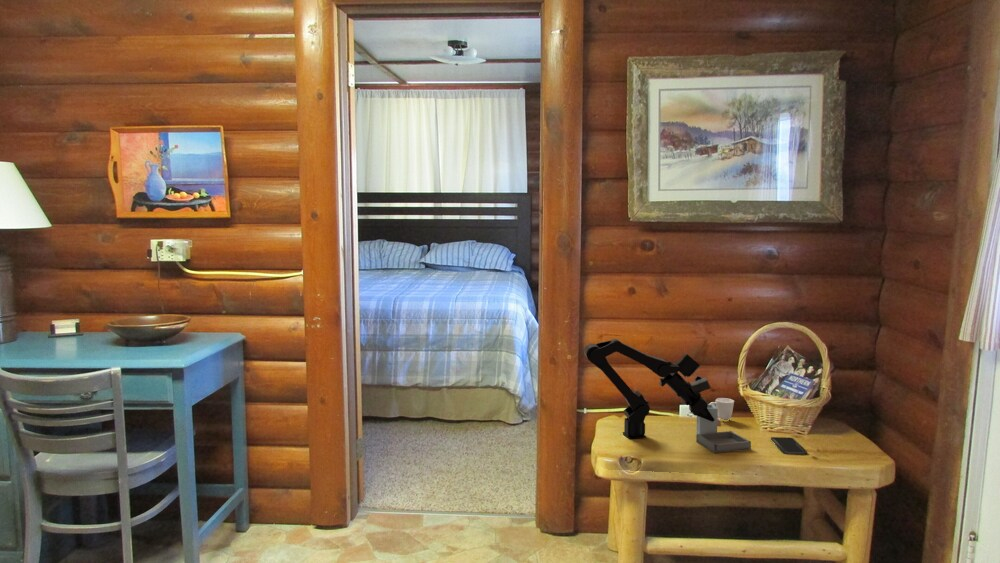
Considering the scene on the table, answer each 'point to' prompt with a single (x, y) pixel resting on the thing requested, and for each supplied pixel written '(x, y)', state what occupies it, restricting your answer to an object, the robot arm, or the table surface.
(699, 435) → the tray
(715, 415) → the sleeve
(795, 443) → the phone
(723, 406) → the cup
